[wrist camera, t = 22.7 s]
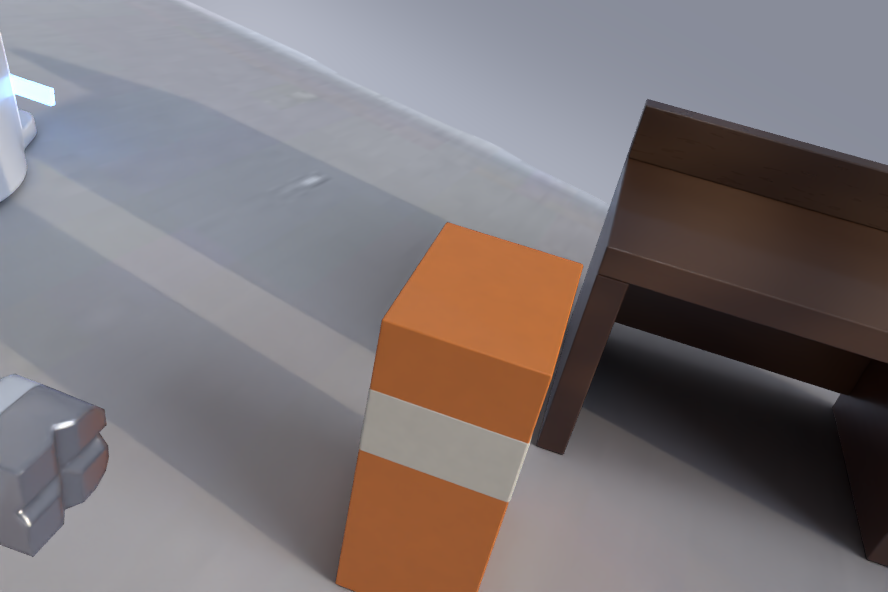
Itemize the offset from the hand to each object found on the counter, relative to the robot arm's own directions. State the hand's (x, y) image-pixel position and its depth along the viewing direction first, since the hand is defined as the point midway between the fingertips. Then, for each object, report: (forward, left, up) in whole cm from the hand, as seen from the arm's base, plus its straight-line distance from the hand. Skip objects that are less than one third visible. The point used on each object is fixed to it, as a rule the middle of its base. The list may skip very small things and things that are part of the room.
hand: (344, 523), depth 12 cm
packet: (-2, +11, -13) cm, 17 cm away
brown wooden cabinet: (+6, +24, -13) cm, 28 cm away
